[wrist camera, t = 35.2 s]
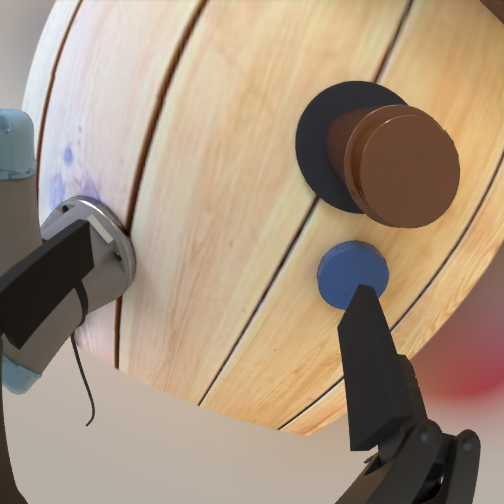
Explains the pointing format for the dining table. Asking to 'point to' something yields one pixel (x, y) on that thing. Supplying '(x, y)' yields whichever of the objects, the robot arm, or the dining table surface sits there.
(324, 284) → the lid
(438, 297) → the dining table surface
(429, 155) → the jar
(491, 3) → the tissue box cover
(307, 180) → the coaster
